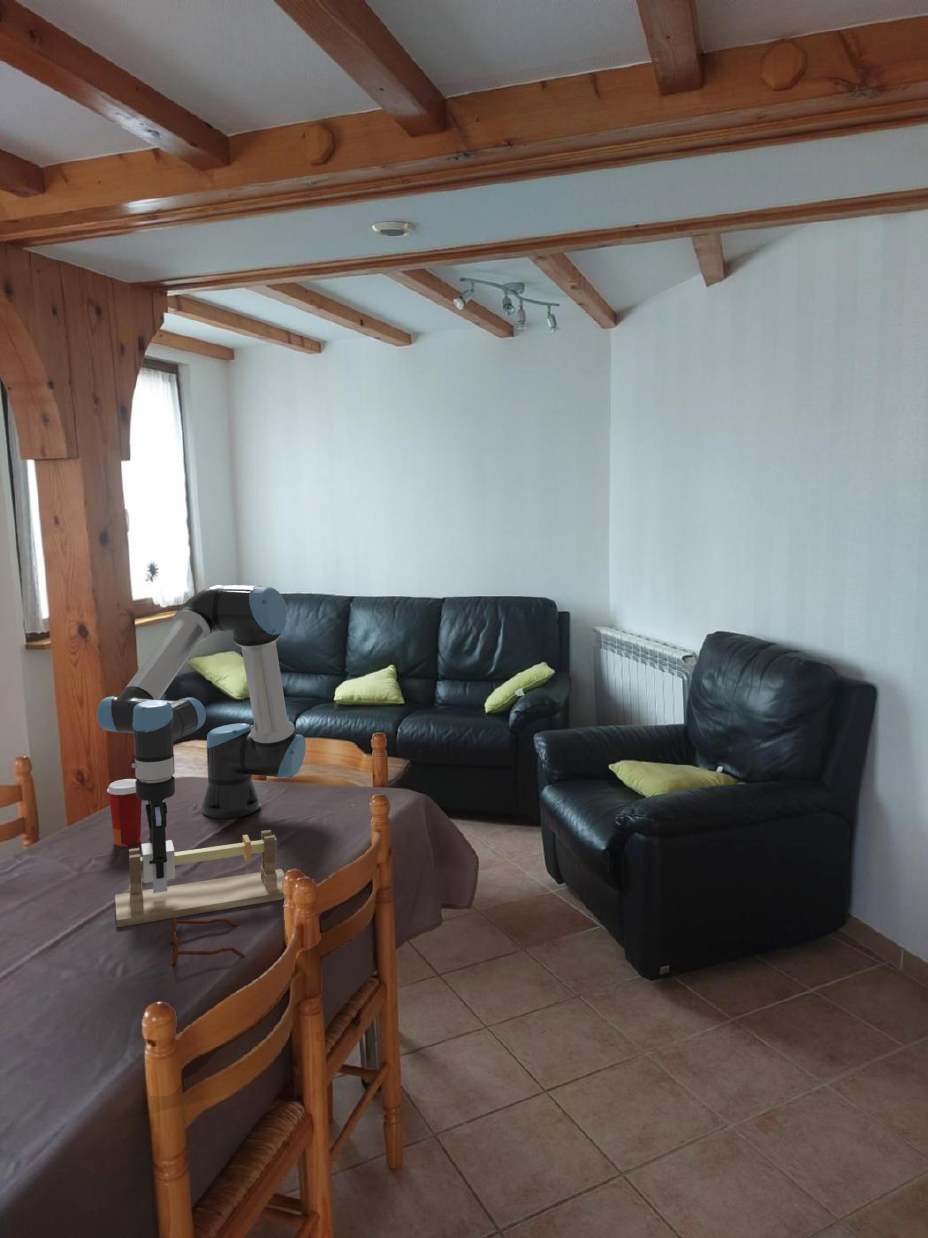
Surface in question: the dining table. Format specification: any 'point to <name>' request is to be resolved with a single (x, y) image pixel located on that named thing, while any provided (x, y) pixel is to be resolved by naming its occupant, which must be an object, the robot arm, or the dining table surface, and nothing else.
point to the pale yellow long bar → (220, 852)
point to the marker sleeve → (148, 856)
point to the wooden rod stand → (199, 891)
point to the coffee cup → (125, 812)
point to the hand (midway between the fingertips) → (159, 884)
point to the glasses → (176, 952)
